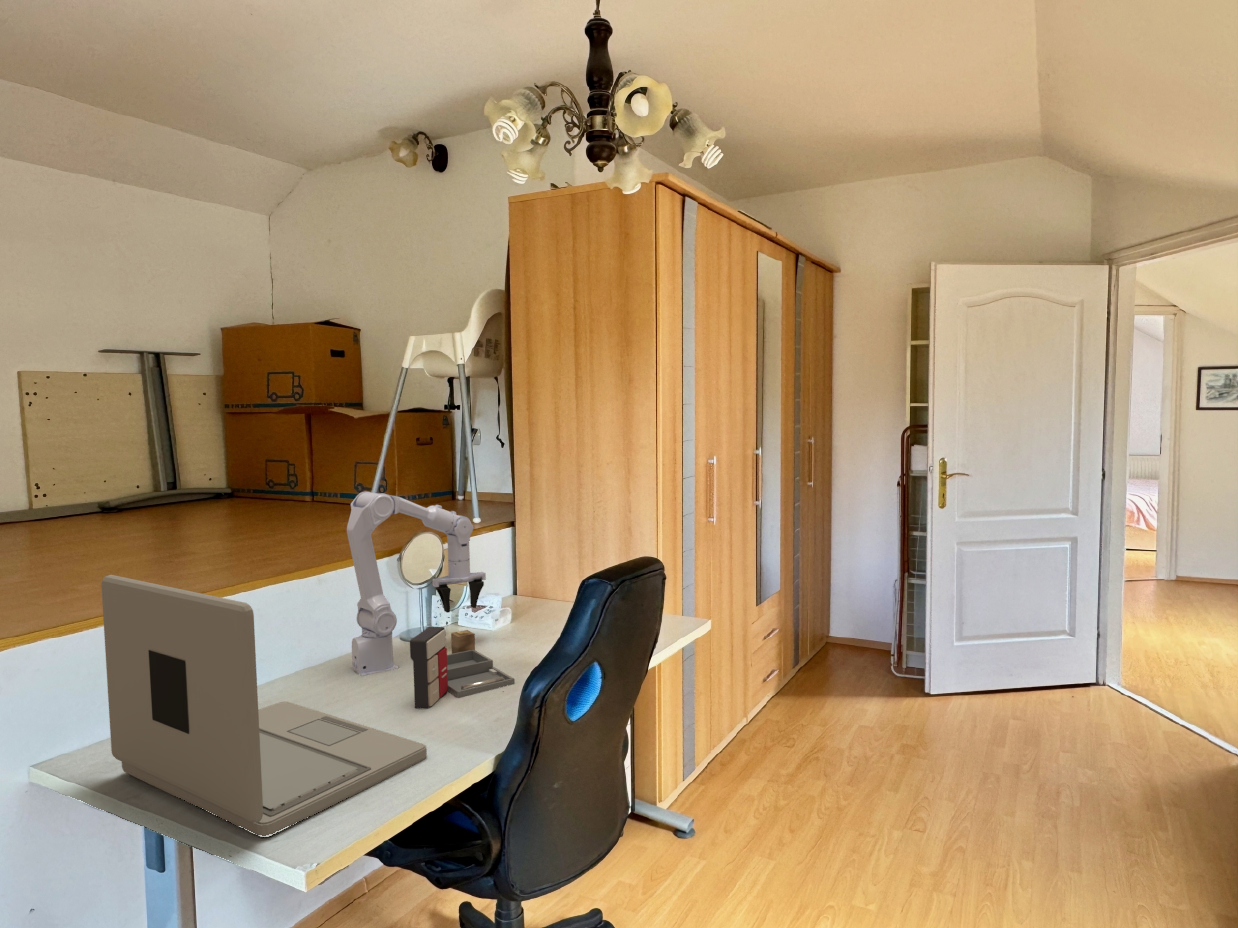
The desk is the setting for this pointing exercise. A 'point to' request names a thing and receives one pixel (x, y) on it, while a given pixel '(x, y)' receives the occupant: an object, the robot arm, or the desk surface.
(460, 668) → the case
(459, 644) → the module block
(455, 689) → the case lid open
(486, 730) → the desk surface
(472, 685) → the rod
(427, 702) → the drawer chest
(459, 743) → the desk surface
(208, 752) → the laptop
